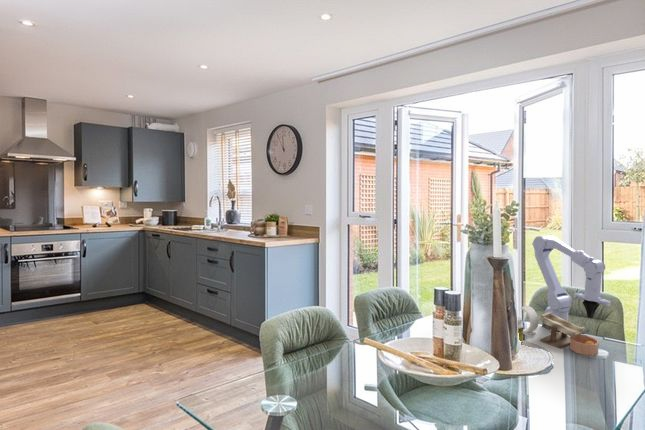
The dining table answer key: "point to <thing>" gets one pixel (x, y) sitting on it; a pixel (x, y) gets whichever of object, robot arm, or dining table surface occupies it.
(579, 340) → the cup
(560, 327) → the beige curved piece
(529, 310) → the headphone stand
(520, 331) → the pill bottle
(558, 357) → the dining table surface
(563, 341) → the lever stand
